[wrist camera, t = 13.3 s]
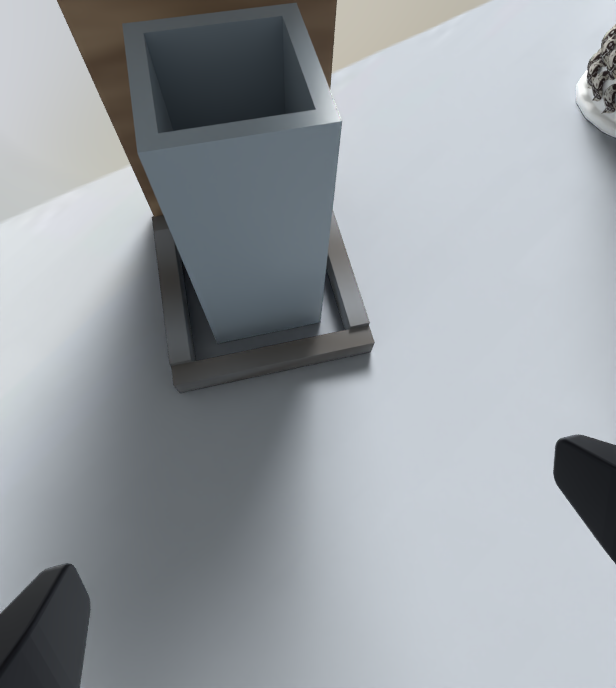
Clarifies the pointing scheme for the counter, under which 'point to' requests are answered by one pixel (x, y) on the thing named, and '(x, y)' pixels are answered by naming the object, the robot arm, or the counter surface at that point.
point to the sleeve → (239, 159)
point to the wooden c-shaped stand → (113, 87)
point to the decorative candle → (600, 86)
